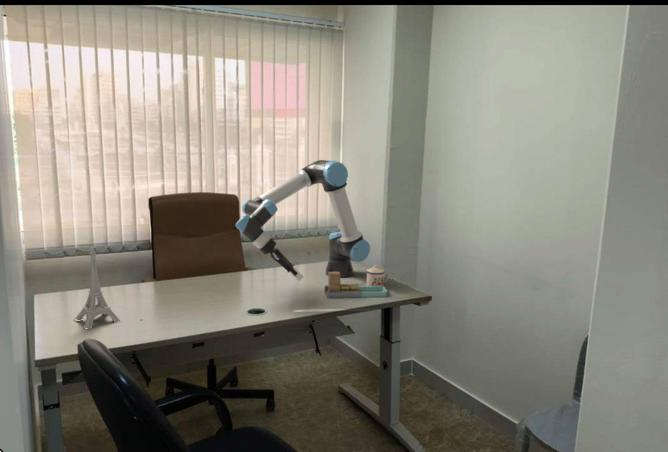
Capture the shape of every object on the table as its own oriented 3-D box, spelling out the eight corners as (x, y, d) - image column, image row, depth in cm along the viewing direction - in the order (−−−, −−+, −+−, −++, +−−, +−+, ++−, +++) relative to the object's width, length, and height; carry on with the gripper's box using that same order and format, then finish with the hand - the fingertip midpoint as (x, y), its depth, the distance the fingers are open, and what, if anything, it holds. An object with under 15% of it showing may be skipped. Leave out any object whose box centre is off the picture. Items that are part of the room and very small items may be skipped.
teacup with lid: (372, 291, 240) (372, 268, 238) (362, 286, 248) (363, 263, 246) (392, 288, 246) (393, 265, 244) (382, 283, 254) (383, 261, 252)
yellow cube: (349, 292, 235) (349, 284, 235) (357, 292, 236) (358, 284, 235) (350, 294, 231) (350, 286, 231) (359, 294, 232) (359, 286, 231)
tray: (357, 292, 239) (357, 286, 238) (383, 291, 240) (383, 285, 240) (361, 298, 229) (361, 292, 228) (387, 298, 230) (388, 292, 230)
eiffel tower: (73, 320, 197) (67, 246, 192) (108, 312, 206) (103, 242, 201) (85, 330, 188) (79, 252, 182) (121, 321, 197) (116, 247, 192)
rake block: (328, 292, 235) (328, 271, 233) (338, 292, 235) (339, 271, 233) (329, 295, 230) (329, 274, 228) (340, 295, 230) (340, 274, 229)
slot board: (324, 292, 238) (324, 285, 237) (357, 291, 240) (357, 284, 239) (326, 300, 226) (326, 292, 226) (361, 299, 228) (361, 292, 227)
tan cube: (339, 292, 235) (340, 284, 234) (348, 292, 235) (348, 284, 234) (340, 295, 231) (341, 286, 230) (349, 294, 231) (349, 286, 231)
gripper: (259, 245, 231) (295, 280, 235) (258, 252, 218) (295, 288, 223) (271, 234, 230) (306, 269, 235) (270, 240, 218) (307, 277, 222)
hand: (301, 278), depth 229 cm, fingers closed
